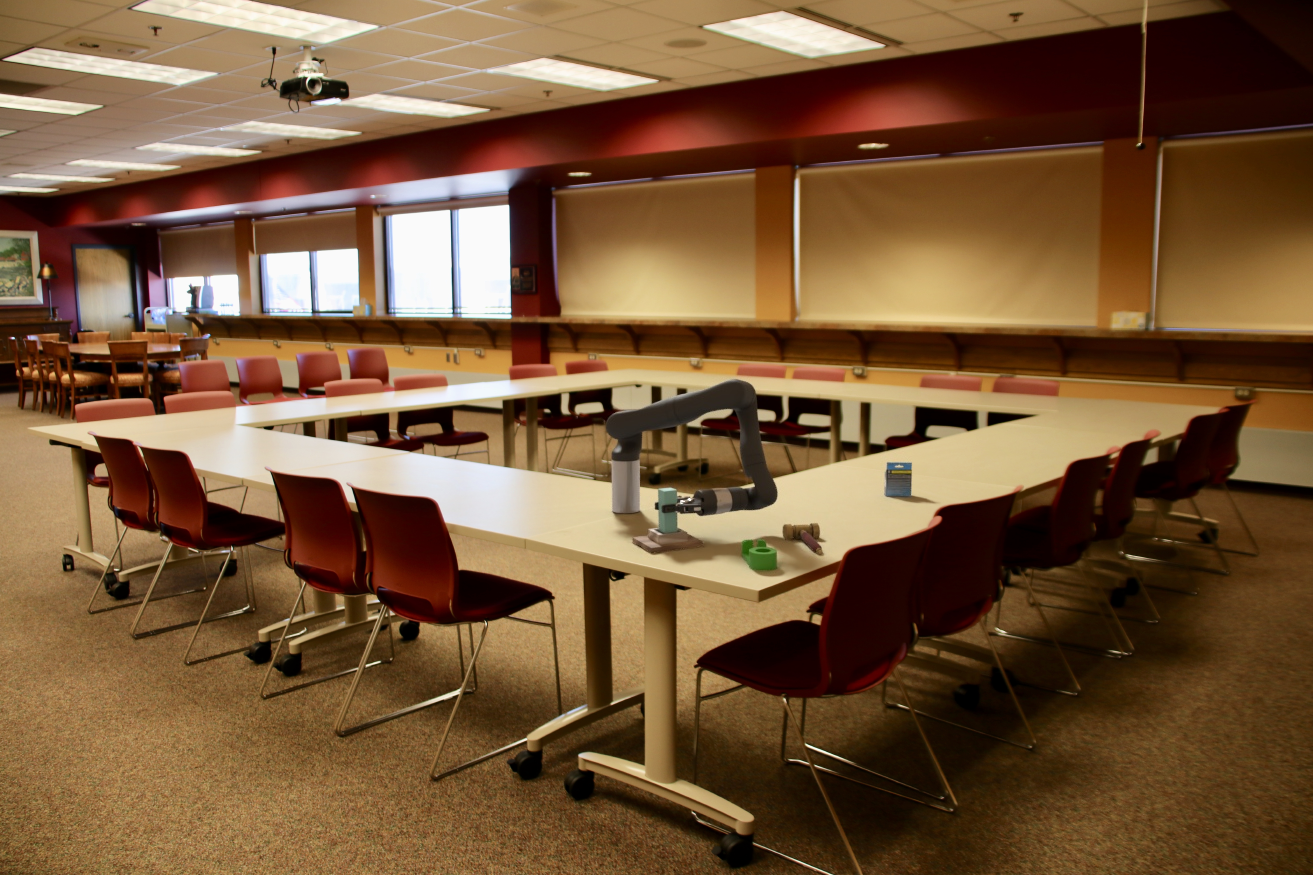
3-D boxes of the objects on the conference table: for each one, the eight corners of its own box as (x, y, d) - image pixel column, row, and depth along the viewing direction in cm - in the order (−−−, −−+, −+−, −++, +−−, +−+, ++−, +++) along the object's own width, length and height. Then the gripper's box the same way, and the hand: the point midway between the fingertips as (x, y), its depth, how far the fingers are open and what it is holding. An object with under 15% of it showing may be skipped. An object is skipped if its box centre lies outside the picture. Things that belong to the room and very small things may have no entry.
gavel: (839, 543, 244) (803, 545, 242) (838, 559, 245) (802, 561, 243) (815, 521, 264) (782, 522, 263) (815, 535, 265) (782, 537, 264)
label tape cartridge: (909, 494, 321) (910, 460, 320) (911, 497, 318) (912, 462, 316) (883, 494, 322) (884, 460, 321) (885, 496, 318) (886, 462, 317)
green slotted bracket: (779, 571, 230) (779, 553, 229) (752, 572, 229) (752, 554, 228) (766, 555, 245) (766, 538, 244) (740, 556, 244) (740, 539, 243)
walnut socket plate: (632, 542, 258) (632, 528, 258) (682, 536, 265) (682, 522, 264) (651, 553, 246) (651, 538, 246) (703, 546, 253) (703, 532, 252)
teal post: (658, 530, 256) (658, 488, 254) (671, 528, 258) (670, 487, 256) (664, 533, 252) (664, 491, 251) (677, 531, 254) (677, 490, 252)
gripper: (701, 484, 266) (647, 490, 259) (724, 493, 253) (669, 499, 246) (701, 509, 267) (648, 515, 260) (724, 519, 254) (669, 526, 247)
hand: (658, 507), depth 253 cm, fingers closed on teal post, 4 cm apart
